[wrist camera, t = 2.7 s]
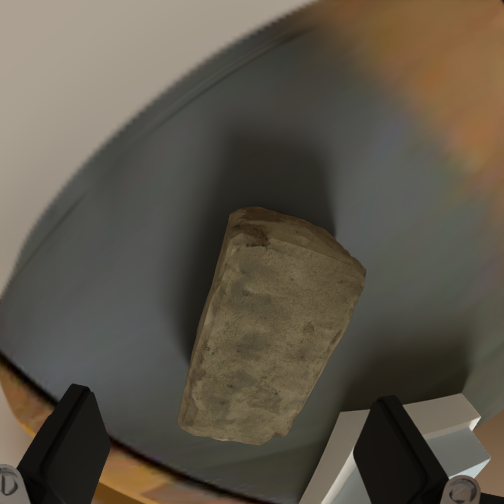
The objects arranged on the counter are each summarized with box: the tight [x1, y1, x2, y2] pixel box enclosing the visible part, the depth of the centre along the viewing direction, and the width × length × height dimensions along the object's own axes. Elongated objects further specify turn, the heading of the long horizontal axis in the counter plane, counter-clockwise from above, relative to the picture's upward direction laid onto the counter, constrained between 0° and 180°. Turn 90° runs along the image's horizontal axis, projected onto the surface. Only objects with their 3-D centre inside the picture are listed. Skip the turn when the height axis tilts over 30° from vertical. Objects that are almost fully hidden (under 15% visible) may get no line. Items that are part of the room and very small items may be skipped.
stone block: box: [178, 207, 366, 445], centre depth 14 cm, size 6×12×5 cm, turn 164°
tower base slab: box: [299, 393, 481, 504], centre depth 19 cm, size 16×12×4 cm
